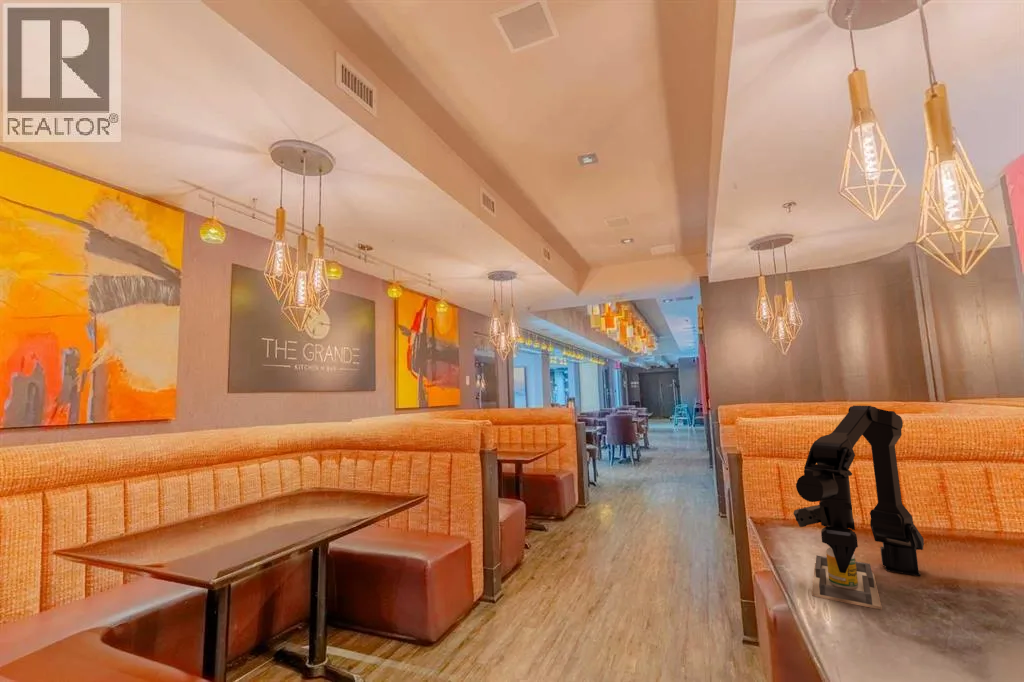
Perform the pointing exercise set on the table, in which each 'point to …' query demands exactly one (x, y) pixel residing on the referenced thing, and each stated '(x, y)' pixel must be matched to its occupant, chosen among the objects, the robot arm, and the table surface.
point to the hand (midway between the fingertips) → (842, 568)
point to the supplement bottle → (839, 578)
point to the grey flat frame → (860, 596)
